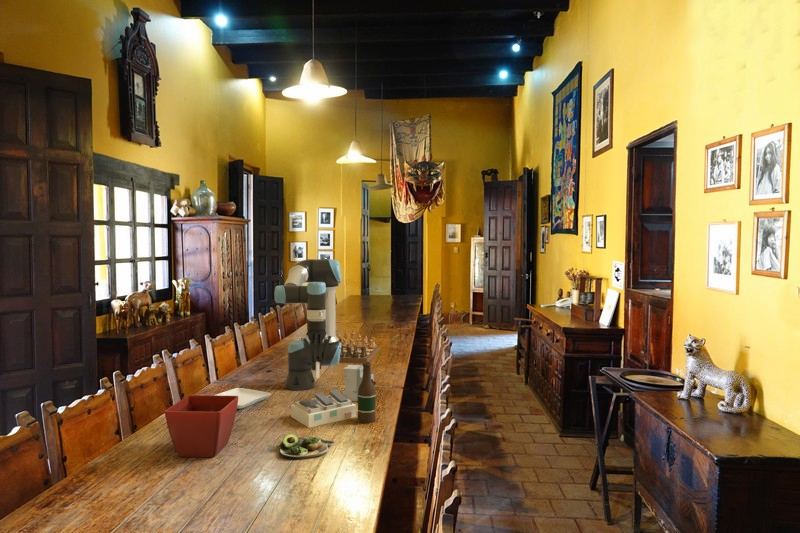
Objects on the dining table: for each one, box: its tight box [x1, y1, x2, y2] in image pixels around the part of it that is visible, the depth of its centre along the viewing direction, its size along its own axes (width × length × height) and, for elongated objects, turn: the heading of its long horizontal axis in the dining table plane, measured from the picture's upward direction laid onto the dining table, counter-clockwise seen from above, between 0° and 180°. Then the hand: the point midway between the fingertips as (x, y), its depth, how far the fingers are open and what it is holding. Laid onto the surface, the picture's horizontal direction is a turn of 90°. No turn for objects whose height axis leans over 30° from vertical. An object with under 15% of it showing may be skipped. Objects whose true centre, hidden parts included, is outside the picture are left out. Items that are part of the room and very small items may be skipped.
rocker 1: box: [299, 399, 318, 406], centre depth 215 cm, size 10×3×2 cm, turn 37°
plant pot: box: [164, 394, 238, 458], centre depth 183 cm, size 19×19×17 cm
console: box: [290, 394, 357, 428], centre depth 219 cm, size 16×22×6 cm
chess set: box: [336, 329, 380, 365], centre depth 338 cm, size 40×40×15 cm
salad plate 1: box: [215, 387, 272, 410], centre depth 239 cm, size 21×21×3 cm
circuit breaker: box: [342, 364, 377, 402], centre depth 244 cm, size 8×14×15 cm, turn 78°
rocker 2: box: [314, 391, 333, 406], centre depth 219 cm, size 10×3×2 cm, turn 37°
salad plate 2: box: [279, 433, 336, 460], centre depth 185 cm, size 19×18×5 cm
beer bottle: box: [357, 361, 377, 424], centre depth 215 cm, size 8×8×24 cm
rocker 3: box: [328, 389, 348, 403], centre depth 223 cm, size 10×3×2 cm, turn 37°
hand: (316, 377), depth 213 cm, fingers closed
